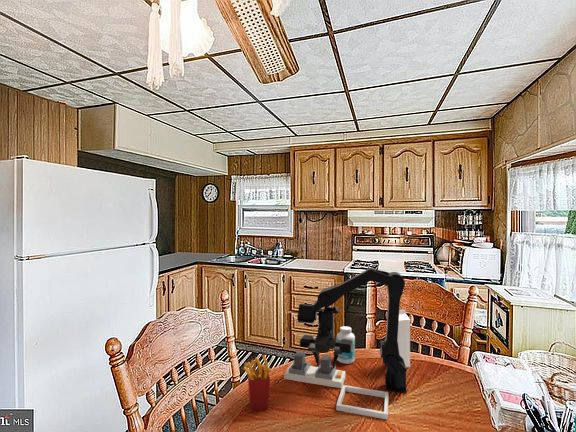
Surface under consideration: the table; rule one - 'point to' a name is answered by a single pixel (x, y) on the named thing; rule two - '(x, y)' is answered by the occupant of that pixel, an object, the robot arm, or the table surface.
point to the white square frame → (362, 410)
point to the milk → (404, 337)
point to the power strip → (316, 375)
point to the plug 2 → (326, 364)
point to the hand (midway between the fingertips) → (325, 367)
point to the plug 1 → (299, 360)
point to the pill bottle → (346, 335)
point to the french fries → (258, 384)
